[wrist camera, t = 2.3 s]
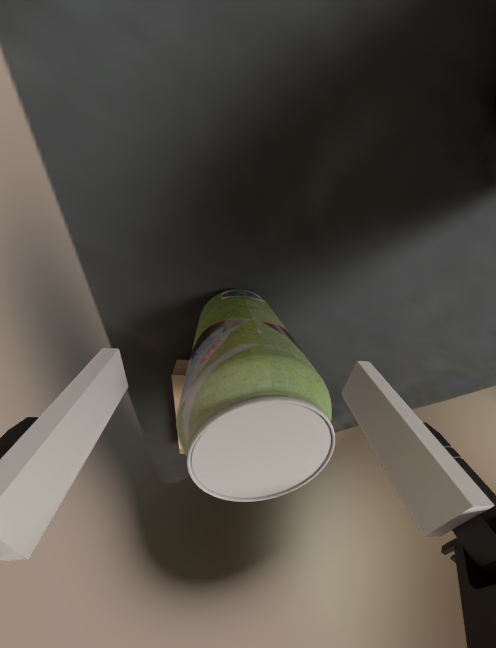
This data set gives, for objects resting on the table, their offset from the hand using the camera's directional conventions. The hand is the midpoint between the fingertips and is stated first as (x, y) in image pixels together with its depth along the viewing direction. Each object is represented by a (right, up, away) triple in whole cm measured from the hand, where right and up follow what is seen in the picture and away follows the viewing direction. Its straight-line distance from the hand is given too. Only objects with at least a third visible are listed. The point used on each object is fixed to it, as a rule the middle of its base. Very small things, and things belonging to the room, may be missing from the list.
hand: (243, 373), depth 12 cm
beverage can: (0, +4, +5) cm, 7 cm away
